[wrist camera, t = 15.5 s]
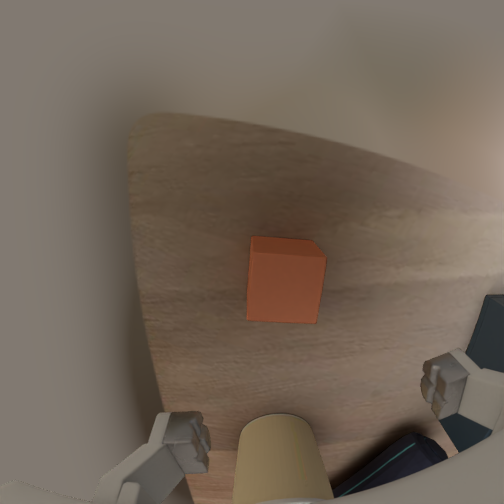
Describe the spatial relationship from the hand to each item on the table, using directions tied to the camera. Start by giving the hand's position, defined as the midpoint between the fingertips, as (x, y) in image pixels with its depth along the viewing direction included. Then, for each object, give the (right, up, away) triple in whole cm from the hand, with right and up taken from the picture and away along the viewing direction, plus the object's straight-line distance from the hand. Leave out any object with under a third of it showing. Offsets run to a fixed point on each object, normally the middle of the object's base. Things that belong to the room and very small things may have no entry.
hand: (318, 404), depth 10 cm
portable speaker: (+12, -26, +23) cm, 36 cm away
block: (0, +4, +14) cm, 15 cm away
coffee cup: (0, -14, +19) cm, 24 cm away
